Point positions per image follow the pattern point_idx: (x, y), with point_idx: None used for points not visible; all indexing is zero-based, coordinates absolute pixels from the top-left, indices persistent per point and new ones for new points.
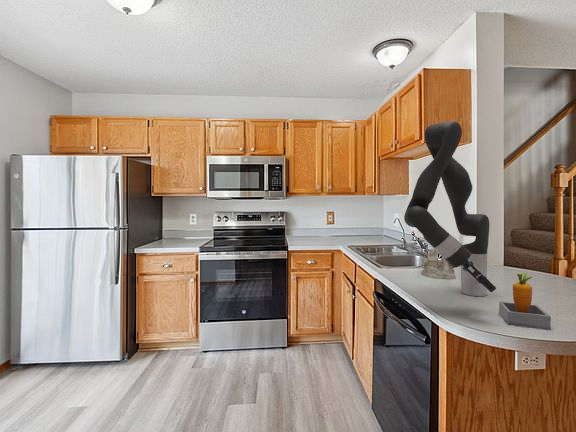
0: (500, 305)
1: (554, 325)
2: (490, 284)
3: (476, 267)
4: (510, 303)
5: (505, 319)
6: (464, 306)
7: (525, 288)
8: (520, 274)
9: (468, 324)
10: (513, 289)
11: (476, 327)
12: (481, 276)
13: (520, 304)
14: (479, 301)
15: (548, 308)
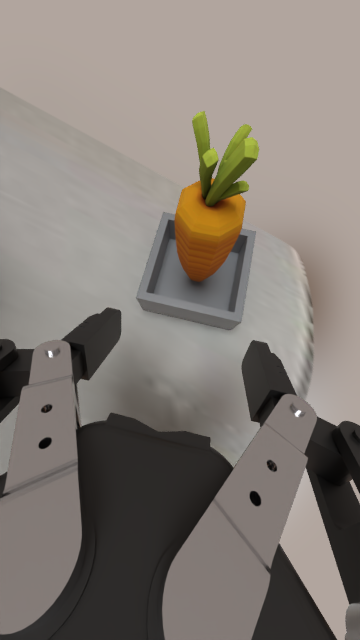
0: (153, 304)
1: None
2: (288, 377)
3: (277, 537)
4: (152, 273)
5: (209, 323)
6: (88, 388)
7: (243, 214)
8: (256, 158)
9: None
10: (198, 249)
11: None
12: (95, 348)
13: (218, 268)
14: (40, 317)
15: (102, 182)
